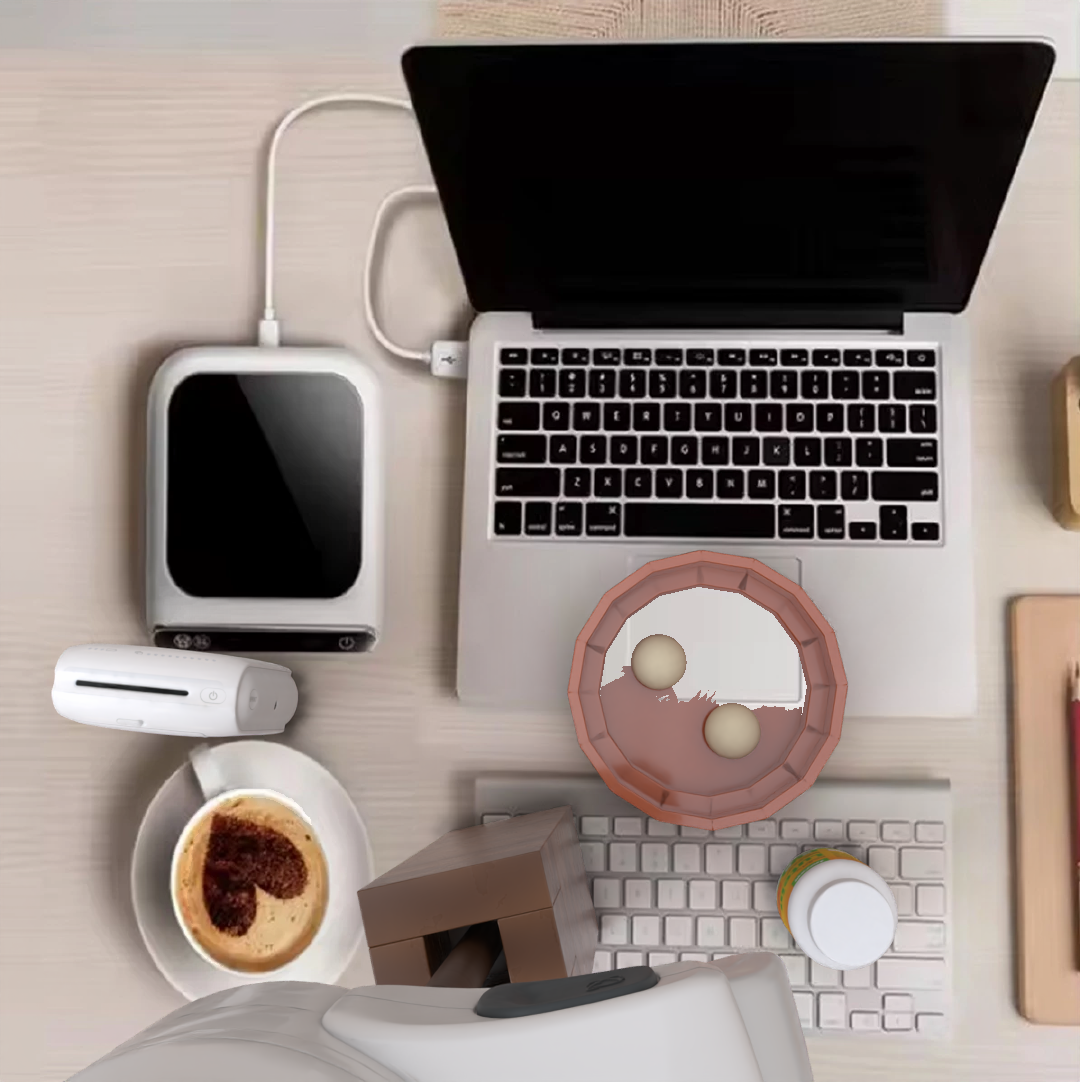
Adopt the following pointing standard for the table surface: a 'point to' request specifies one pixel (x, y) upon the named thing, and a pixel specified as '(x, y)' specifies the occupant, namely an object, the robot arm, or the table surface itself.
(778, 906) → the supplement bottle
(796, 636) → the bowl
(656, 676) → the dough ball
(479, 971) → the stick
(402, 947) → the holder
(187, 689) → the photo printer
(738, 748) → the dough ball
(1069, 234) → the table surface
